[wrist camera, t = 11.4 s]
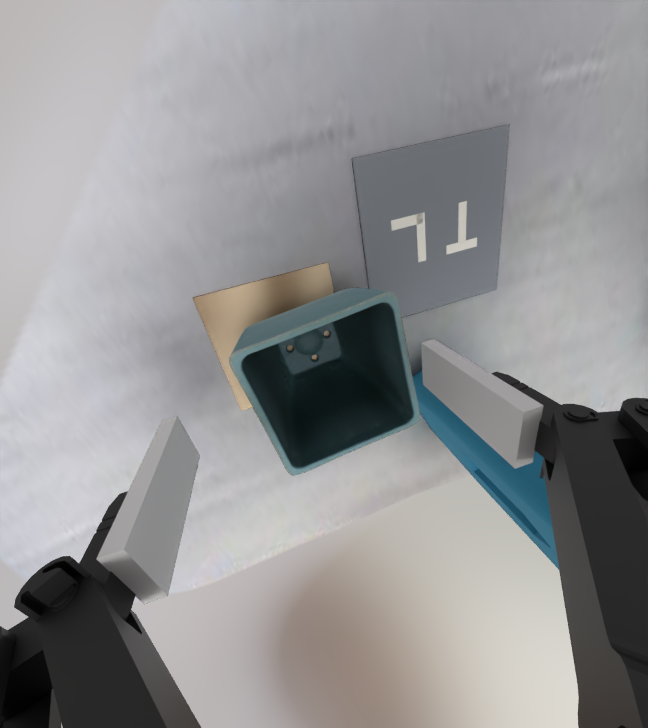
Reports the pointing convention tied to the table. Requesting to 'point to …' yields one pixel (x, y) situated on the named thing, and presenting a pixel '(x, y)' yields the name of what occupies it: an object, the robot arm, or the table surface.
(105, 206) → the table surface
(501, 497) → the block
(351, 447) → the flower pot
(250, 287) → the cork mat
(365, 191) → the tile
